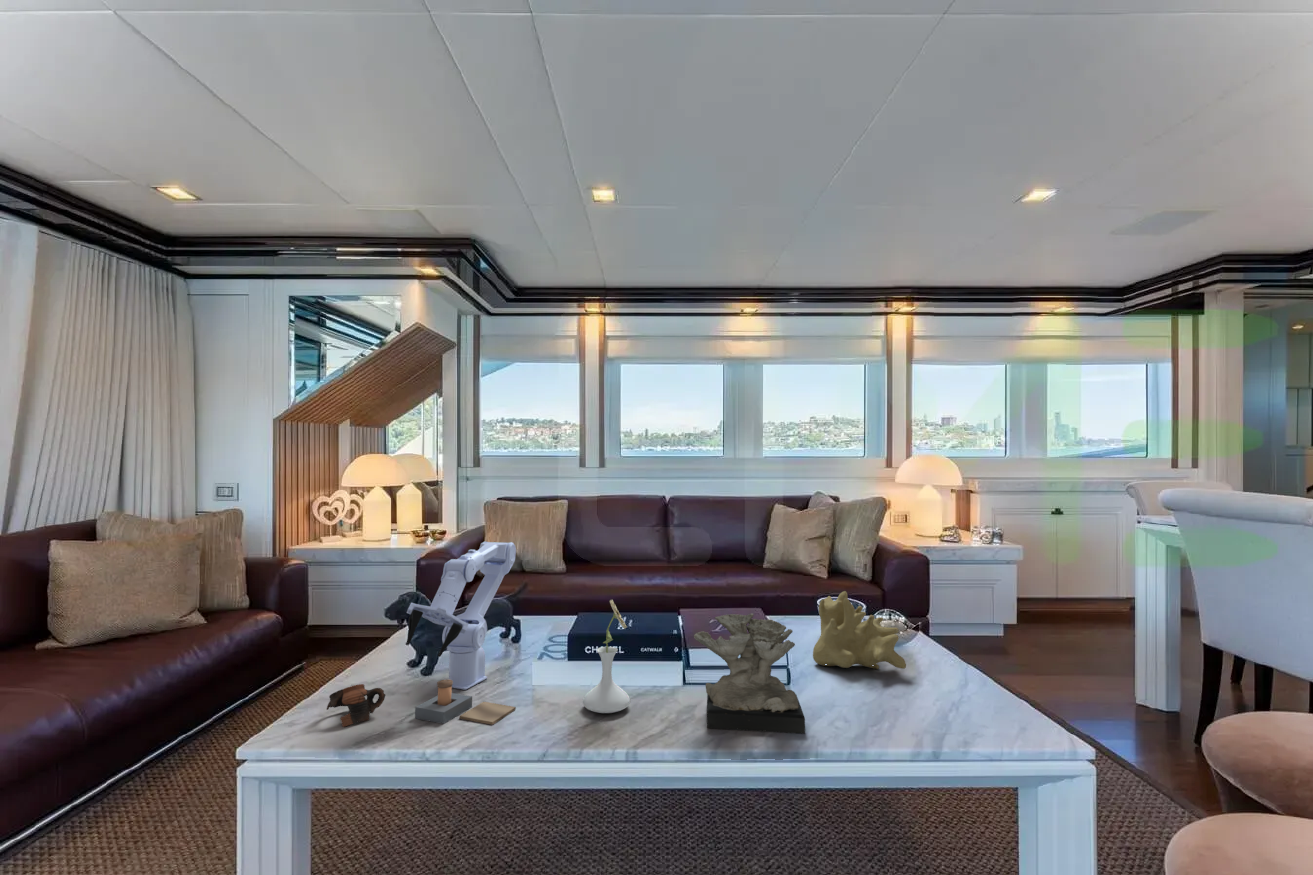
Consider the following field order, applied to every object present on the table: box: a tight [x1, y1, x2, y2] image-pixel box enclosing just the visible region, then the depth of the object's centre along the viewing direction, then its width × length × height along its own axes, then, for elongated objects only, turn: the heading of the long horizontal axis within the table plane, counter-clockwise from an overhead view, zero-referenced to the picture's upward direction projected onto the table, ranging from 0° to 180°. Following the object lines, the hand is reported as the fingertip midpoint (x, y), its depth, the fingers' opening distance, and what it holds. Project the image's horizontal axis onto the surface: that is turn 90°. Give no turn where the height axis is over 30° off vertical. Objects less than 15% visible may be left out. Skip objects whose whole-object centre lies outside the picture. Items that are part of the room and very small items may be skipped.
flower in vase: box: [582, 599, 631, 714], centre depth 143 cm, size 13×11×25 cm
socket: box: [414, 692, 473, 724], centre depth 138 cm, size 10×8×2 cm
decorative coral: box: [812, 590, 907, 670], centre depth 175 cm, size 26×22×25 cm
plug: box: [436, 678, 453, 706], centre depth 138 cm, size 3×3×7 cm
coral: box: [693, 613, 806, 735], centre depth 141 cm, size 25×20×22 cm
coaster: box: [458, 701, 517, 725], centre depth 137 cm, size 9×9×1 cm
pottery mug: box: [326, 683, 386, 728], centre depth 136 cm, size 12×10×8 cm
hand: (423, 648), depth 137 cm, fingers open, 7 cm apart
